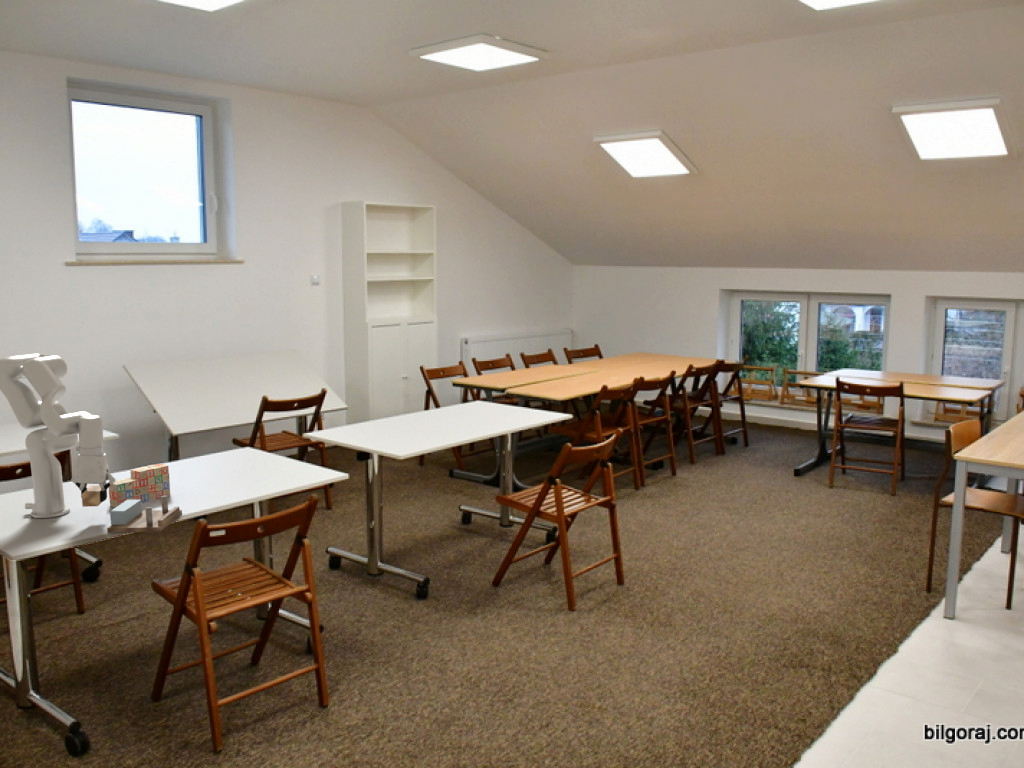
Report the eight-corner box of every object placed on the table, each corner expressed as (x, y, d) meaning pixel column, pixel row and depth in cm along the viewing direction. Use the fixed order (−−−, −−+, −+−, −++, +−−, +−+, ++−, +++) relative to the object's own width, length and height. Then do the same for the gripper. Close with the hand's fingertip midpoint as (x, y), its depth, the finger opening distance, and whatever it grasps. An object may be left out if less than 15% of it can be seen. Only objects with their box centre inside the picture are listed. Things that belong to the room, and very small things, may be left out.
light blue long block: (111, 524, 295) (109, 511, 294) (128, 512, 309) (127, 499, 308) (125, 524, 295) (124, 511, 295) (142, 512, 309) (141, 499, 308)
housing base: (107, 532, 292) (105, 511, 291) (132, 514, 312) (130, 494, 311) (160, 531, 293) (158, 510, 292) (182, 513, 312) (180, 493, 311)
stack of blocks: (118, 508, 320) (115, 476, 318) (109, 506, 324) (107, 474, 322) (170, 495, 337) (168, 465, 335) (162, 493, 341) (159, 462, 339)
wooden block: (82, 506, 297) (81, 494, 297) (91, 497, 307) (90, 485, 306) (97, 506, 298) (97, 493, 297) (106, 497, 308) (105, 485, 307)
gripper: (61, 452, 296) (64, 503, 299) (111, 454, 296) (114, 504, 299) (72, 447, 303) (75, 496, 306) (121, 448, 303) (123, 498, 306)
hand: (94, 500), depth 303 cm, fingers closed on wooden block, 5 cm apart
